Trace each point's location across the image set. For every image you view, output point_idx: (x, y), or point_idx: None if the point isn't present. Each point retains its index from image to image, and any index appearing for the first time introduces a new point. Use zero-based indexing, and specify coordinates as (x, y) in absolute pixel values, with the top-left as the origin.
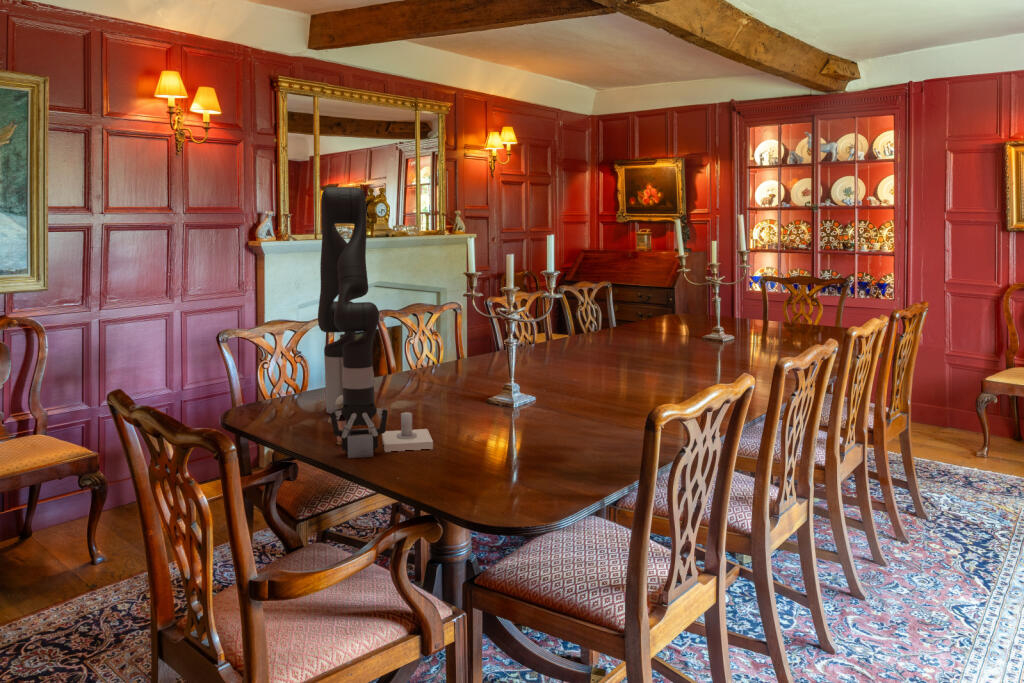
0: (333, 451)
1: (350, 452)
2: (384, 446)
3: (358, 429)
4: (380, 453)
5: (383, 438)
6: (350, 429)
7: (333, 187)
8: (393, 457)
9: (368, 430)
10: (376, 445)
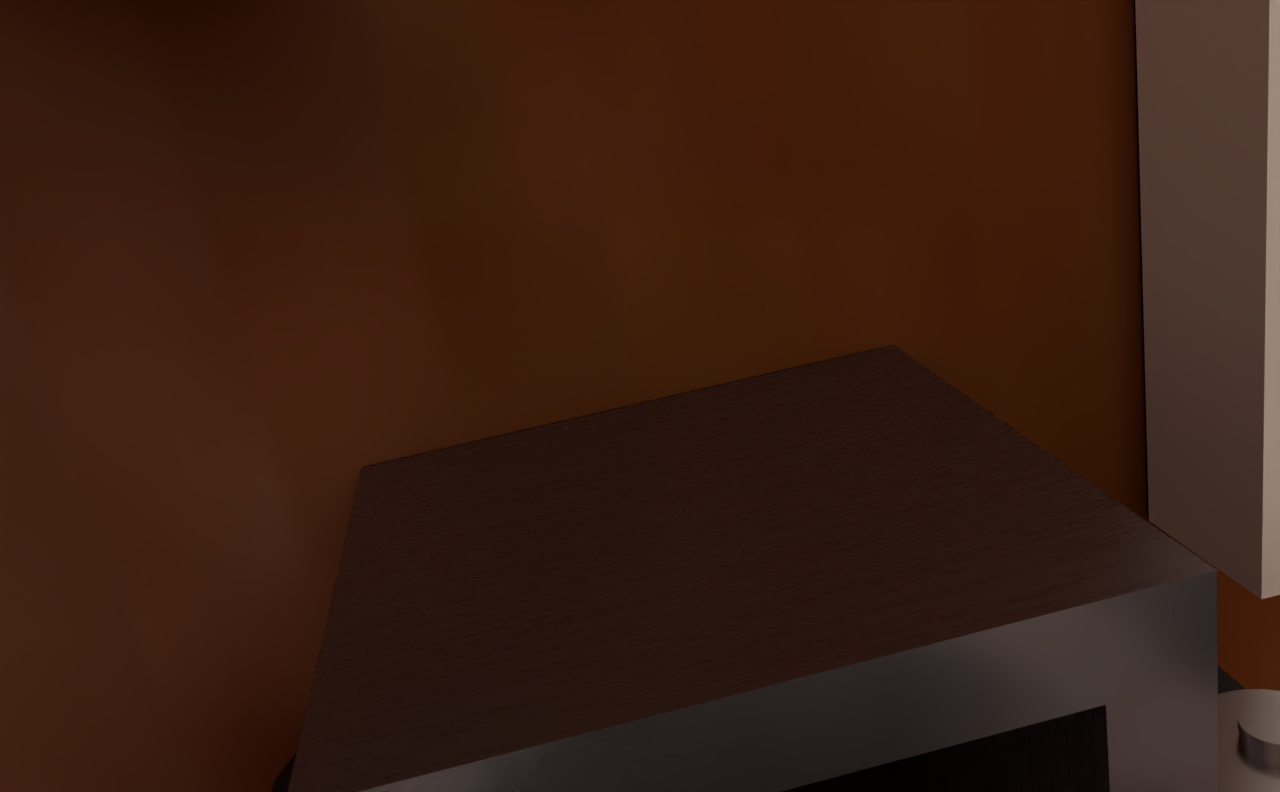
0: (19, 503)
1: None
2: (1208, 471)
3: (743, 749)
4: None
5: (1271, 86)
6: (424, 784)
7: None
8: None
9: (1081, 683)
10: None
